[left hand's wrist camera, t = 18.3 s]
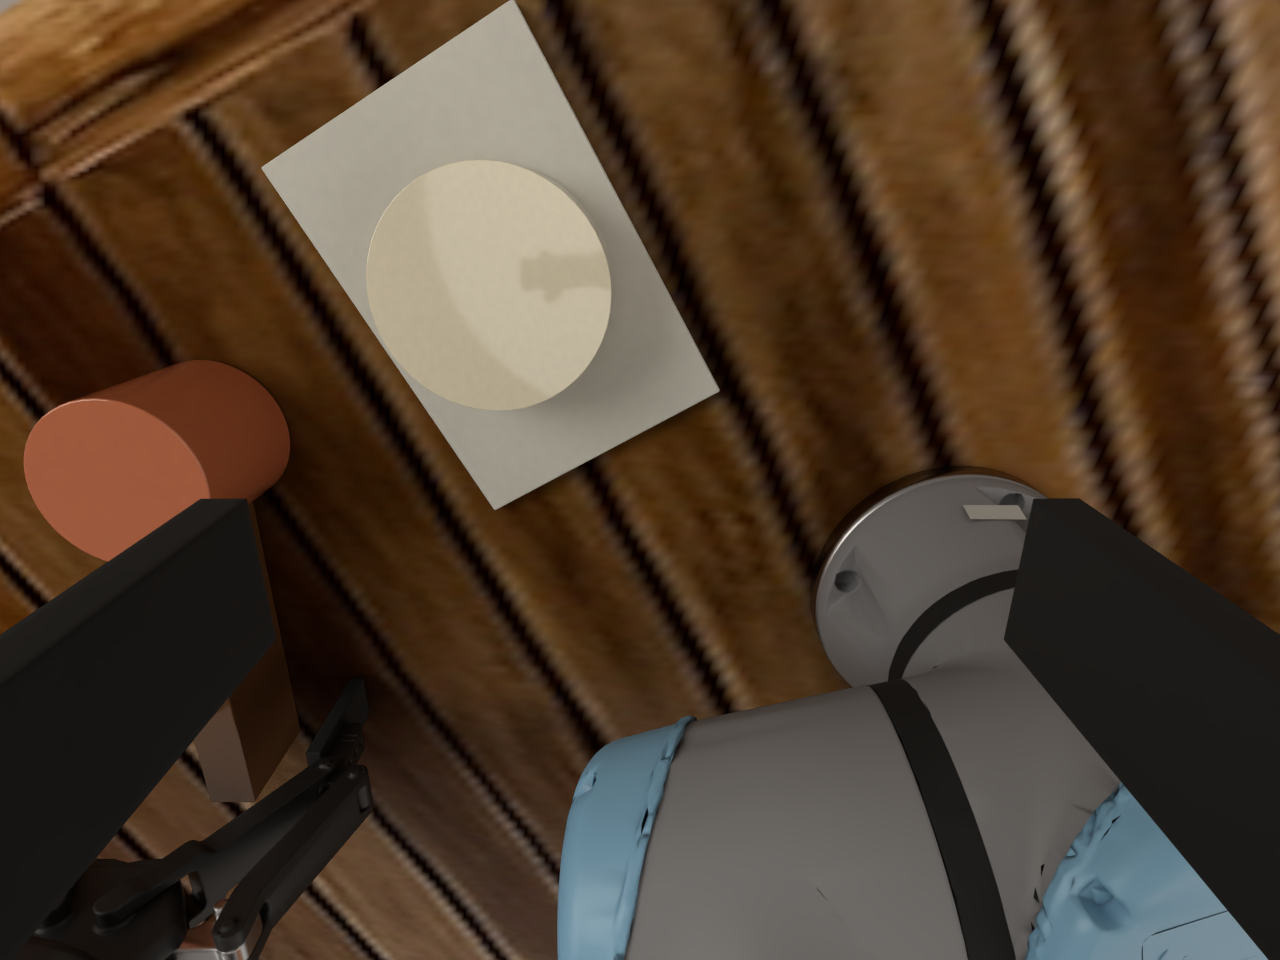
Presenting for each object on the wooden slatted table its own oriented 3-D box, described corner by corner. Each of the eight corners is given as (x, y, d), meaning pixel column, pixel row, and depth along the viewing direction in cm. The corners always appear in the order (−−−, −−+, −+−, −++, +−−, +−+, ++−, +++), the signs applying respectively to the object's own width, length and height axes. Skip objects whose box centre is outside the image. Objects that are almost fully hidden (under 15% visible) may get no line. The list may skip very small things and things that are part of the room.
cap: (654, 328, 37) (655, 340, 33) (472, 429, 39) (456, 450, 35) (538, 115, 33) (527, 106, 30) (345, 238, 35) (315, 242, 32)
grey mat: (718, 387, 39) (720, 391, 38) (497, 505, 41) (494, 510, 40) (515, 2, 32) (513, -3, 31) (268, 168, 35) (260, 167, 34)
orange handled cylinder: (123, 359, 38) (-3, 398, 30) (276, 359, 38) (187, 398, 31) (219, 730, 47) (139, 831, 39) (344, 730, 47) (287, 831, 39)
